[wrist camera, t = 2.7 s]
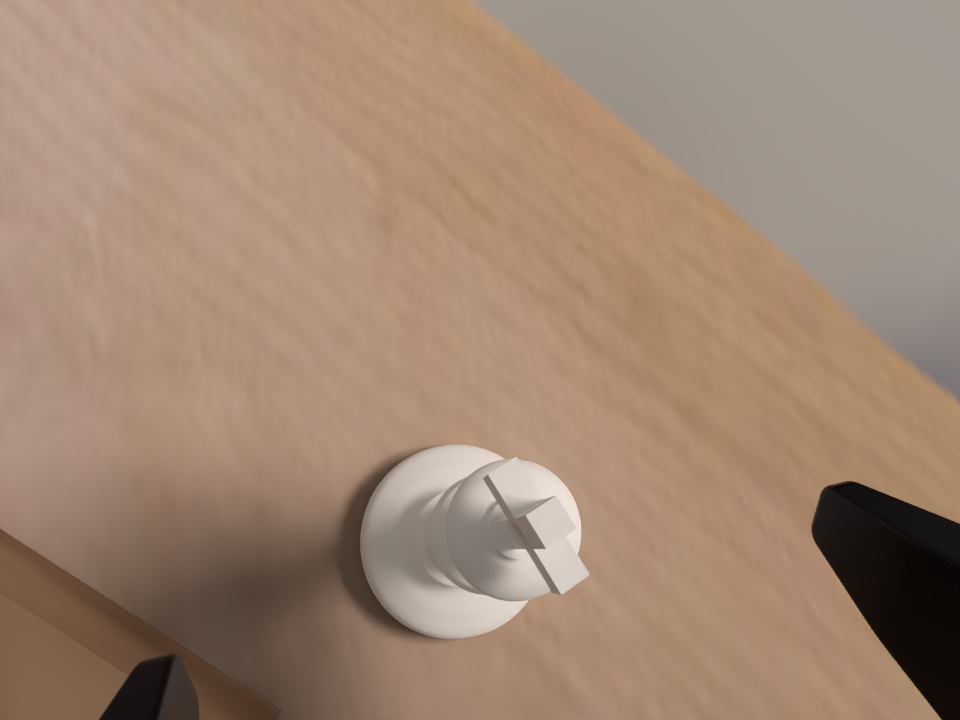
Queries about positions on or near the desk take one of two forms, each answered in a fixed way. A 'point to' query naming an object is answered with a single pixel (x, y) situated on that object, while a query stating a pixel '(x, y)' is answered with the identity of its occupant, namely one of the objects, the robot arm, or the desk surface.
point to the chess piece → (468, 540)
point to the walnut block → (86, 648)
